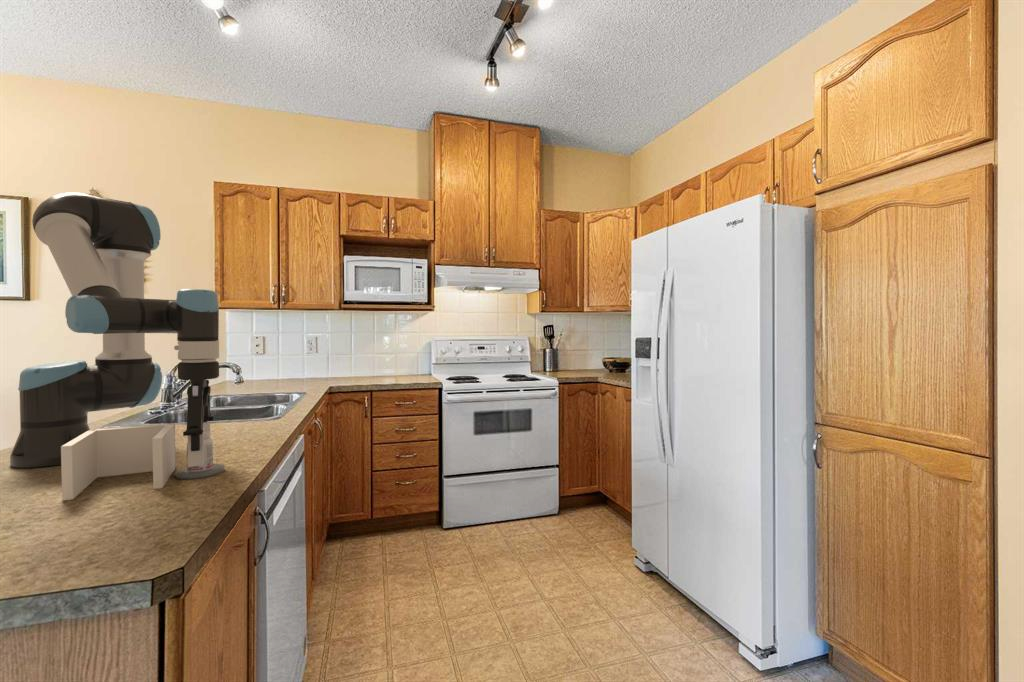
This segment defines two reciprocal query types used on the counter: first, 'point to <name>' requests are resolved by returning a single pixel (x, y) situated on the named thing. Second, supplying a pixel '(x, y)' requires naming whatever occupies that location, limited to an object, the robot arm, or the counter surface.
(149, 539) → the counter surface
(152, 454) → the cubby
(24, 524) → the counter surface
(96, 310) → the robot arm
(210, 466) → the pill bottle
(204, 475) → the coaster
